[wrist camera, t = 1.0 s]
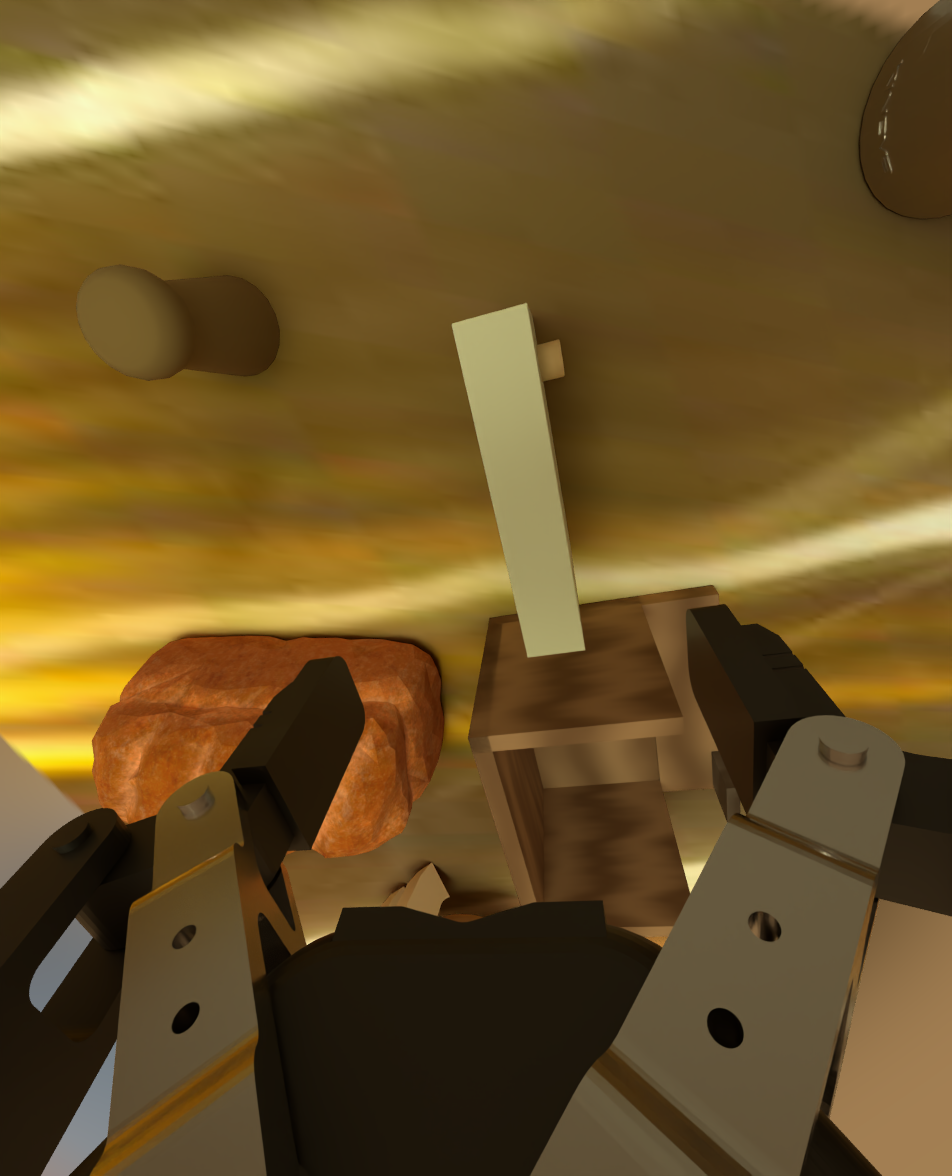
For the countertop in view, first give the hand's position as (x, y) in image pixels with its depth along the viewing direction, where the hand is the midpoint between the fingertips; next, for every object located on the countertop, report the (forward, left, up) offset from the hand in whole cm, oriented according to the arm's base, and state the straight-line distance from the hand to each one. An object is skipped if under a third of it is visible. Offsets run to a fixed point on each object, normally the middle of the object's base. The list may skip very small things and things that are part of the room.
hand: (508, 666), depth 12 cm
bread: (+25, +18, -27) cm, 41 cm away
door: (0, 0, -26) cm, 26 cm away
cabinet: (-3, +23, -26) cm, 35 cm away
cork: (+18, -12, -27) cm, 34 cm away
